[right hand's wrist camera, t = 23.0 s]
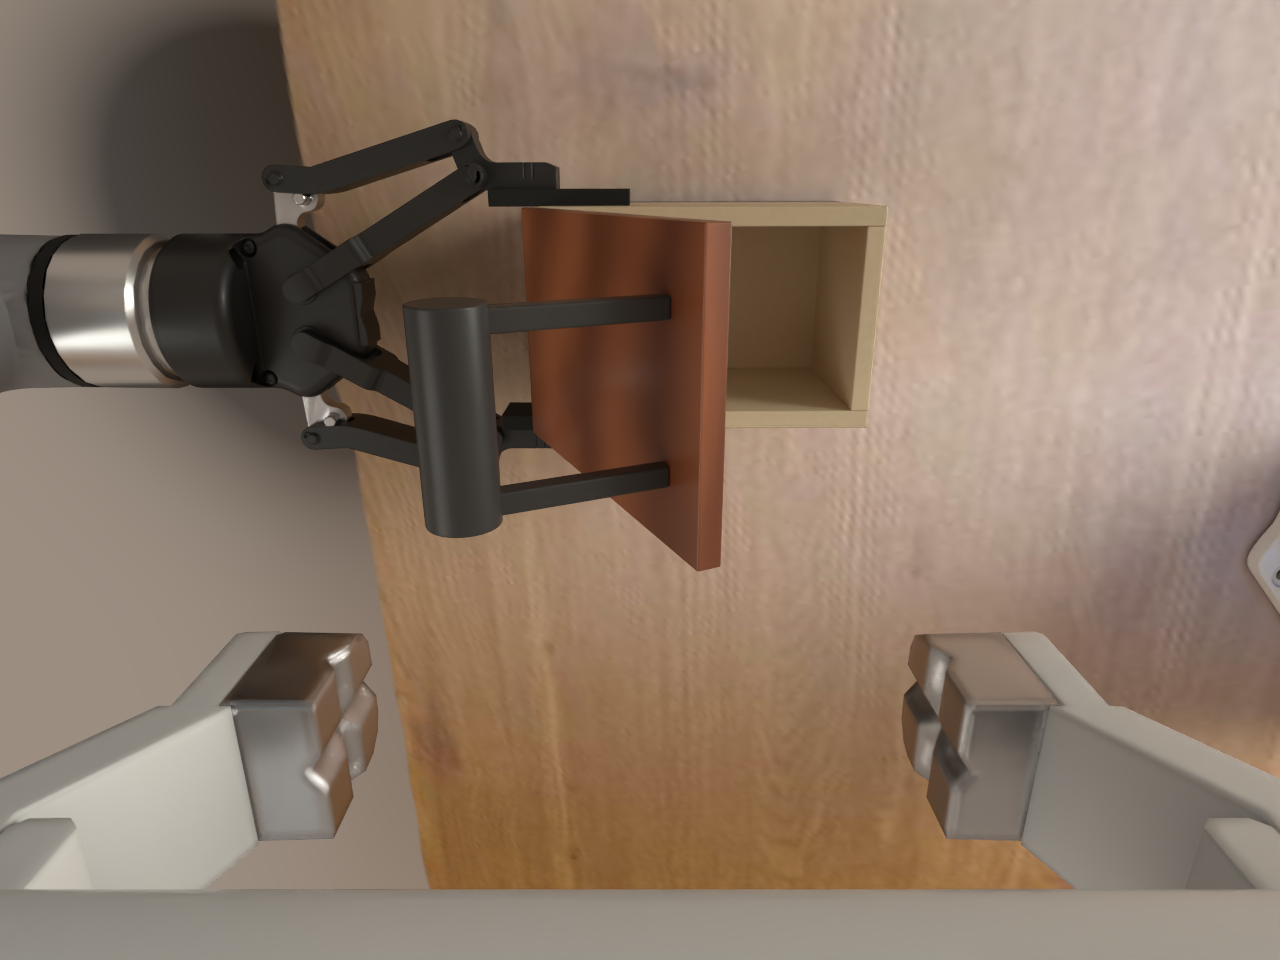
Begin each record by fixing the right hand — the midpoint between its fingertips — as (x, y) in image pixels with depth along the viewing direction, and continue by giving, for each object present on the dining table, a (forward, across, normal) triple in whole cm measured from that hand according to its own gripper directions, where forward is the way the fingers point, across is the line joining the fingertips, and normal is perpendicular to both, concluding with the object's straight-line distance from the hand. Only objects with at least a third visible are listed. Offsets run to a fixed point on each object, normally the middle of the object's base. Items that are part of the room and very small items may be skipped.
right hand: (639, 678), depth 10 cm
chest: (+39, -3, 0) cm, 39 cm away
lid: (+21, +1, 0) cm, 21 cm away
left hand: (+32, 0, 0) cm, 32 cm away
